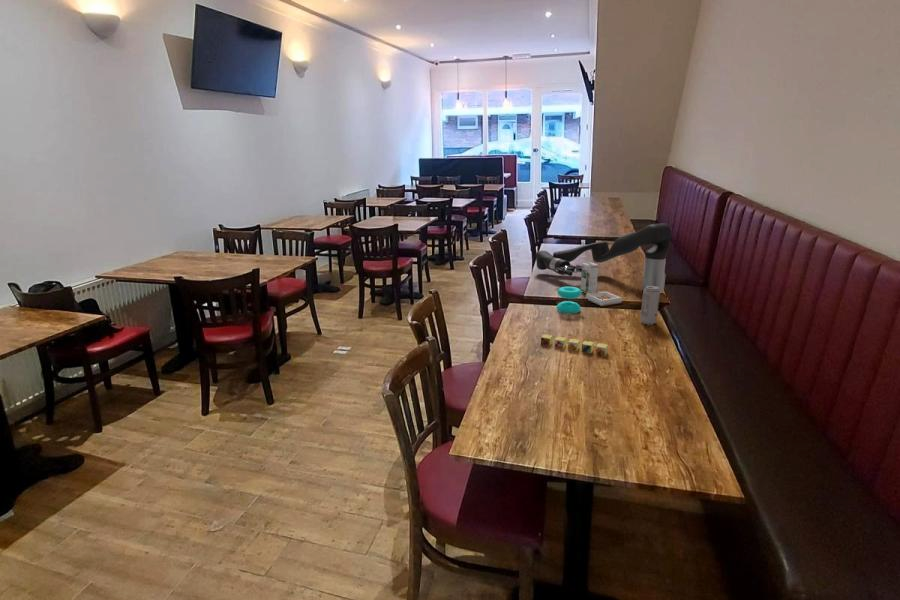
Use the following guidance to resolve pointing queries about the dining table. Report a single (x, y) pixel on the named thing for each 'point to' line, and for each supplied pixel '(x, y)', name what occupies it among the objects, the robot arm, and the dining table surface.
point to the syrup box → (589, 277)
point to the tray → (594, 299)
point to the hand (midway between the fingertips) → (578, 272)
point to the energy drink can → (650, 305)
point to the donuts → (569, 294)
